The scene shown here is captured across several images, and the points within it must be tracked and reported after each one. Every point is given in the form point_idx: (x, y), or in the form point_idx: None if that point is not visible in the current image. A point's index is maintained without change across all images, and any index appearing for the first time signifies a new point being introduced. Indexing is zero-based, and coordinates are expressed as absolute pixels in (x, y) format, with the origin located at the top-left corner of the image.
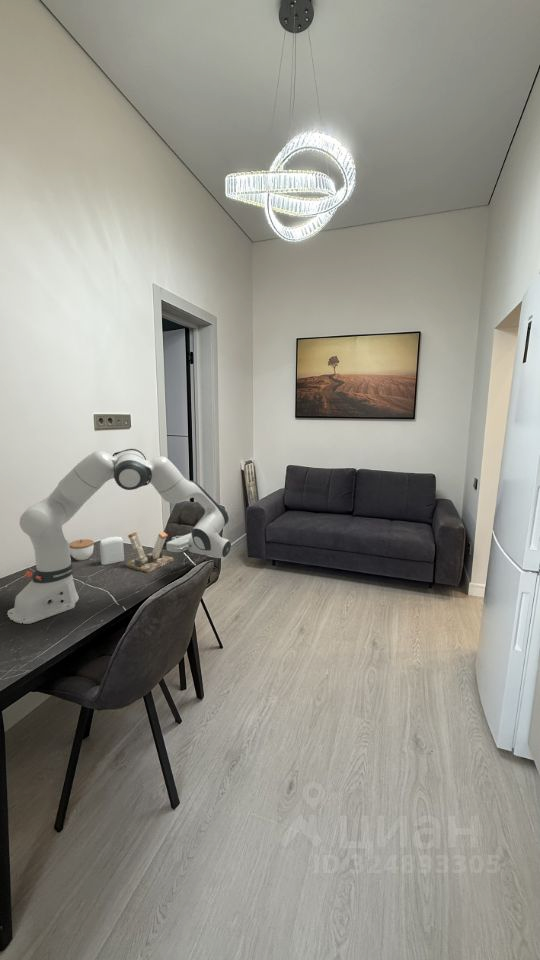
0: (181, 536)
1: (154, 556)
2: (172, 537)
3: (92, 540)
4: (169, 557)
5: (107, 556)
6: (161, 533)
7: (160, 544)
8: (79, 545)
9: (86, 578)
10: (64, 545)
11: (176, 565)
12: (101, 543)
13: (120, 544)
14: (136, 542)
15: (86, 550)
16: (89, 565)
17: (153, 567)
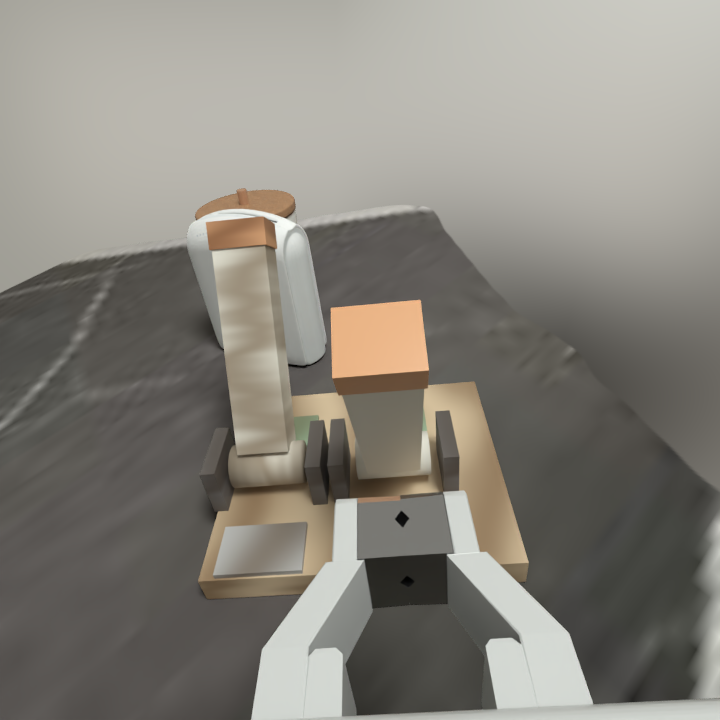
0: (502, 621)
1: (366, 469)
2: (341, 506)
3: (288, 204)
4: (507, 529)
5: None
6: (362, 317)
7: (366, 425)
8: None
9: (52, 404)
10: None
11: (481, 700)
12: (187, 236)
13: None
14: (237, 308)
15: None
16: (202, 322)
17: (271, 582)
